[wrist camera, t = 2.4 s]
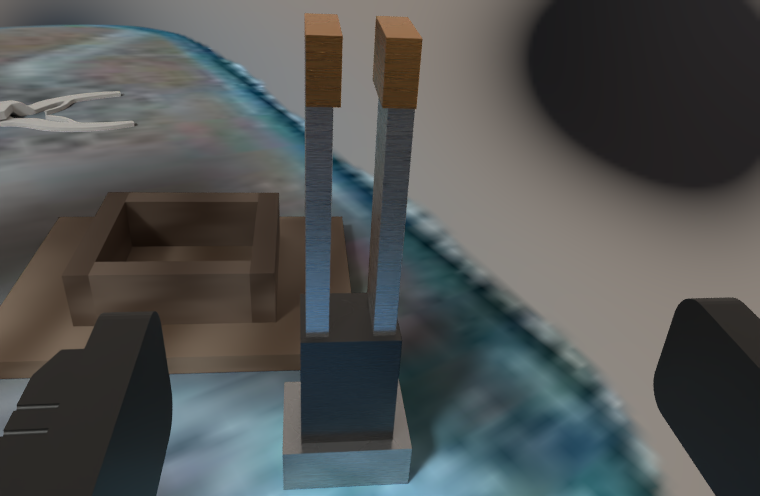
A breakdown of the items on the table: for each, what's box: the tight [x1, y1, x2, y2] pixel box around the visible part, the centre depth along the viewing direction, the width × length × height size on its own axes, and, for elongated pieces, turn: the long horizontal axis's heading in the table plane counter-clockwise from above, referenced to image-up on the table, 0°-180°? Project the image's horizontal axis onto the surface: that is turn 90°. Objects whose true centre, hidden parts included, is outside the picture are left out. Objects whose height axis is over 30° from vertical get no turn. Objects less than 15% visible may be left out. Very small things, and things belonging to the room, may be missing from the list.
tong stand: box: [0, 192, 351, 379], centre depth 36 cm, size 18×14×4 cm
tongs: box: [283, 13, 422, 490], centre depth 23 cm, size 5×4×18 cm
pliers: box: [0, 91, 134, 132], centre depth 59 cm, size 10×2×15 cm
